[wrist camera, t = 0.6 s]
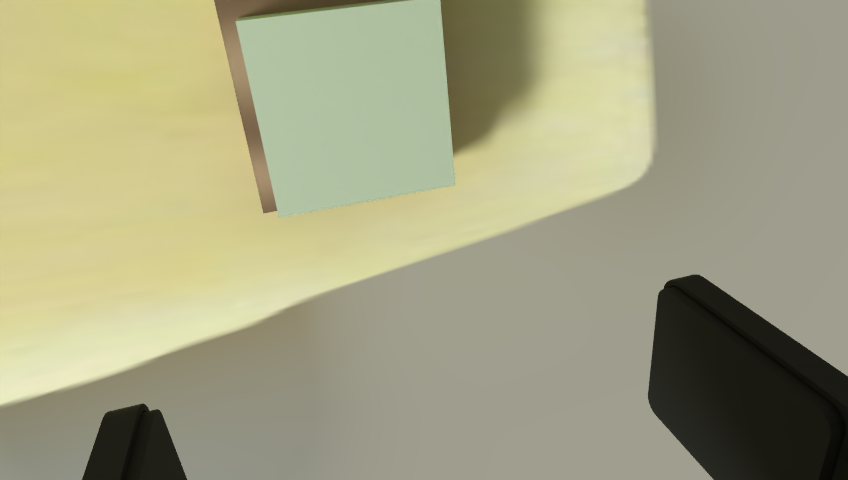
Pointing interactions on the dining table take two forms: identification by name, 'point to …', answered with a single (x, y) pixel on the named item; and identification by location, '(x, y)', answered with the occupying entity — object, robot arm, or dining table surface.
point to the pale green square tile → (350, 102)
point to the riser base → (231, 6)
